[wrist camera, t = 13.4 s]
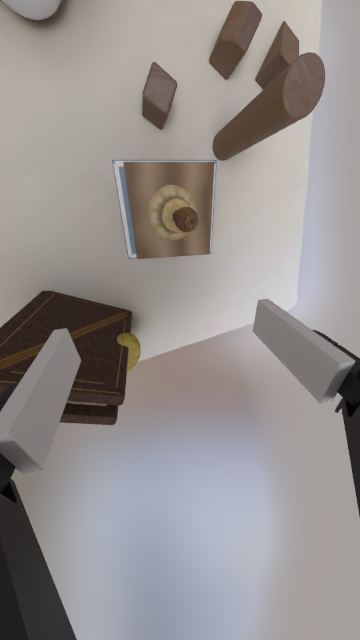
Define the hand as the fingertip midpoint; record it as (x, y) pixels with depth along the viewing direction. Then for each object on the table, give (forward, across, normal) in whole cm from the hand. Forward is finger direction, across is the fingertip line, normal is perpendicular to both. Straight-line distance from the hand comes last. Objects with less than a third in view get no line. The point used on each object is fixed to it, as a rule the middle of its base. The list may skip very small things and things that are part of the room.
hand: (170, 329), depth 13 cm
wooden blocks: (+31, +14, +23) cm, 42 cm away
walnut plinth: (+31, +5, +6) cm, 32 cm away
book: (+32, -15, -14) cm, 38 cm away
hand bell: (+26, +5, +6) cm, 27 cm away
